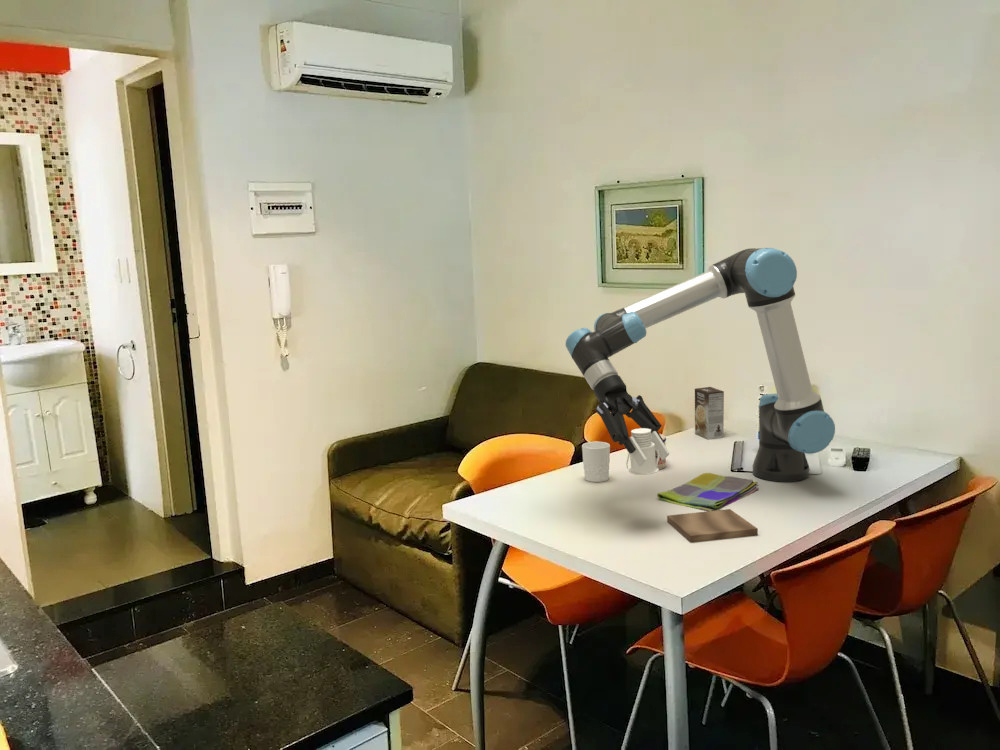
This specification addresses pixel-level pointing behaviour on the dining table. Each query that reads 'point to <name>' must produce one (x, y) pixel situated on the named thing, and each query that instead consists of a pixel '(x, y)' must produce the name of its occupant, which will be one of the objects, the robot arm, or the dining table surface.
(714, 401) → the coffee box
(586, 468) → the white cup
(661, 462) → the teacup with lid
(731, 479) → the dish towel
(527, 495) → the dining table surface
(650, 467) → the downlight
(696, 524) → the walnut board
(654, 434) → the robot arm
